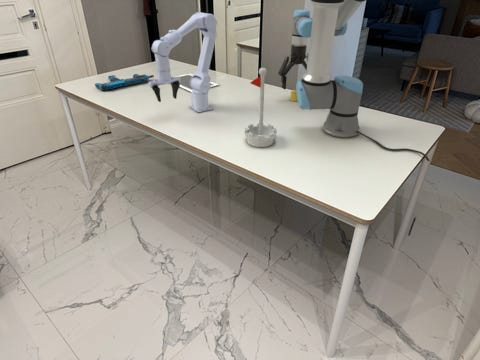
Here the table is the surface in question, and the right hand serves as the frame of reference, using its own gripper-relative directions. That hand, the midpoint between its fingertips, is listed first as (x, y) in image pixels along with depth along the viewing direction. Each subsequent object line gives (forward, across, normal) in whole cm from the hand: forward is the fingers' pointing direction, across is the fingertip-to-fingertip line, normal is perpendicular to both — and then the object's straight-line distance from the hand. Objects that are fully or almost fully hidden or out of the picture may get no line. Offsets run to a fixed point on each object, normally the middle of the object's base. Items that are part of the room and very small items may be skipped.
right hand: (295, 87), depth 179 cm
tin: (+7, 0, 0) cm, 7 cm away
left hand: (-3, +68, +2) cm, 68 cm away
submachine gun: (+7, +83, -65) cm, 106 cm away
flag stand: (+7, +37, +39) cm, 55 cm away
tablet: (+7, +45, -49) cm, 67 cm away
